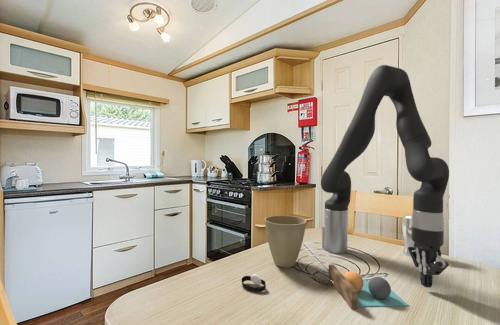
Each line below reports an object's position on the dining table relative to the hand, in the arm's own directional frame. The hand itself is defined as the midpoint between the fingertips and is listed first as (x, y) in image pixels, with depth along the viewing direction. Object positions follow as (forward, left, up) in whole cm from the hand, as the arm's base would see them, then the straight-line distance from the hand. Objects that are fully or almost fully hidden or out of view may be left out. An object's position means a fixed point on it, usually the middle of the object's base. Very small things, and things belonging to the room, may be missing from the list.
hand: (426, 285), depth 72 cm
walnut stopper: (-15, -20, -2) cm, 25 cm away
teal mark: (-10, -14, -2) cm, 17 cm away
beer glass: (-12, +29, -2) cm, 32 cm away
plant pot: (-38, -18, -2) cm, 42 cm away
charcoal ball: (-7, -14, +1) cm, 16 cm away
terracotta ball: (-13, -17, +1) cm, 21 cm away
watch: (-32, -38, -2) cm, 50 cm away
